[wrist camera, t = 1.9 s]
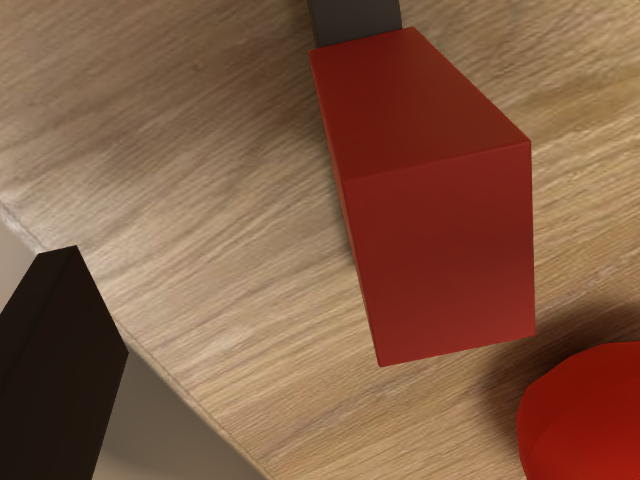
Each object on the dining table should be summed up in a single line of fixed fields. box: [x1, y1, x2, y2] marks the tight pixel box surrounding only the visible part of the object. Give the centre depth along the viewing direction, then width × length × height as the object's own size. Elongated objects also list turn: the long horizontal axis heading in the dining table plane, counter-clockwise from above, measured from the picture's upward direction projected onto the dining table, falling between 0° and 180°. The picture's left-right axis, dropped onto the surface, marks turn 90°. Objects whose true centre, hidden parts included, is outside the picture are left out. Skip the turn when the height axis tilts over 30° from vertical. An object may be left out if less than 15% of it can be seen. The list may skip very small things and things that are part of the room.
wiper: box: [307, 0, 535, 367], centre depth 15 cm, size 3×14×11 cm, turn 11°
